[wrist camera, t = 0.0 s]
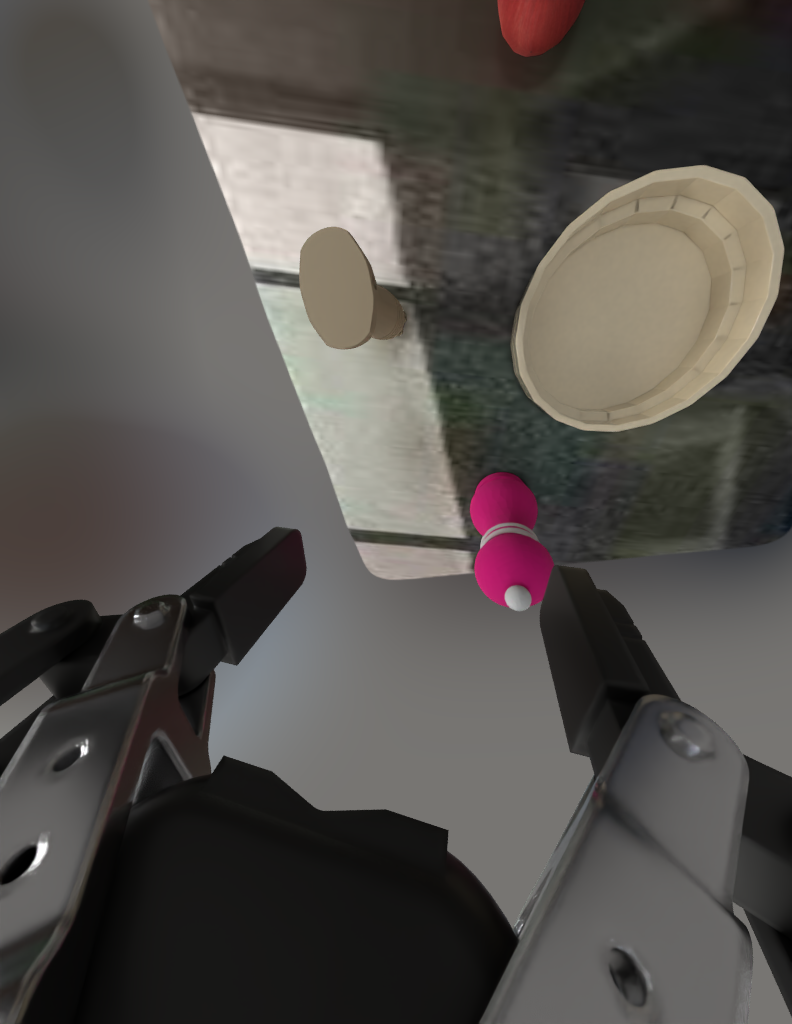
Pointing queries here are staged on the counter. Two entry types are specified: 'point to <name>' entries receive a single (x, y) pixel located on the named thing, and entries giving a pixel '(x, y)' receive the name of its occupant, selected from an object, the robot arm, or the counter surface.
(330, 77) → the counter surface
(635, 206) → the bowl
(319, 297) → the handle
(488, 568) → the pepper mill
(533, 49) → the onion
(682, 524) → the counter surface
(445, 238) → the counter surface
